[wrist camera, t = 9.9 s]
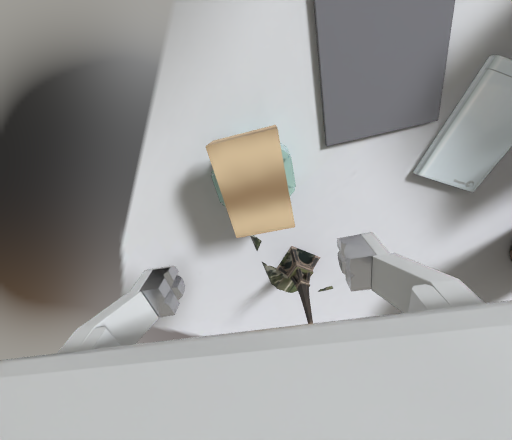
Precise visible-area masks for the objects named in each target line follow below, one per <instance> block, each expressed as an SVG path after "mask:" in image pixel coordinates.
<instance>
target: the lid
mask: <svg viewBox="0 0 512 440" xmlns="http://www.w3.org/2000/svg"><path fill="white" fill-rule="evenodd" d="M206 149H207V152H208V155H209V158H210V161H211V164H212V167H213V170H214V173H215V176H216V179H217V182H218V185H219V188H220V191H221V194H222V197H223V200H224V203H225V205H226V208H227V211H228V214H229V217H230V220H231V223H232V226H233V229H234V232H235V235H236V238H240V237H245V236H250V235H256V234H261V233H266V232H272V231H277V230H282V229H288V228H293V227H295V223H294V218H293V212H292V207H291V201H290V195H289V190H288V184H287V179H286V173H285V168H284V162H283V157H282V151H281V146H280V140H279V135H278V129H277V127H276V125H273V126H269V127H265V128H261V129H257V130H253V131H249V132H246V133H242V134H238V135H234V136H230V137H226V138H222V139H218V140H214V141H212V142H211V143H209V144H208V145H207V146H206Z"/></svg>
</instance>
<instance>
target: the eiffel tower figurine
mask: <svg viewBox="0 0 512 440" xmlns="http://www.w3.org/2000/svg"><path fill="white" fill-rule="evenodd" d="M251 238H252V240H253V243H254V245H255V247H256V250H258V248H259V246H260V243H261V240H259V239H258V238H257V237H255V236H254V235H252V236H251ZM319 259H320V257H318V256H316V255H313V254H311V253H308V252H306V251H303V250H301V249H298V248H296V247H293V246H291V247H290V249H289V250H288V252H287V253H286V255H285V257H284V258H283V260H282V261H281V263H280V264H279V266H278V267H277V268H274V267H272V266H267V265H266V264H265V263H263V262H262V263H263V266H264V268H265V270H266V272H267V275H268V277H269V279H270V282H271V284H272V285H274V286H275V287H276V288H277V289H280V290H283V291H285V292H290V293H293V292H295V291H298V292H299V294H300V297H301V300H302V303H303V307H304V310H305V314H306V317H307V321H308V324H313V320H312V313H311V306H310V299H309V287H310V284H309V281H310V276H311V275H312V274H313V268H314V267H315V265H316V263H317V262H318V260H319ZM329 289H333V287H332V286H330V287H326V288H324V289H320V290H319V291H318V292H320V291H325V290H329Z"/></svg>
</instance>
